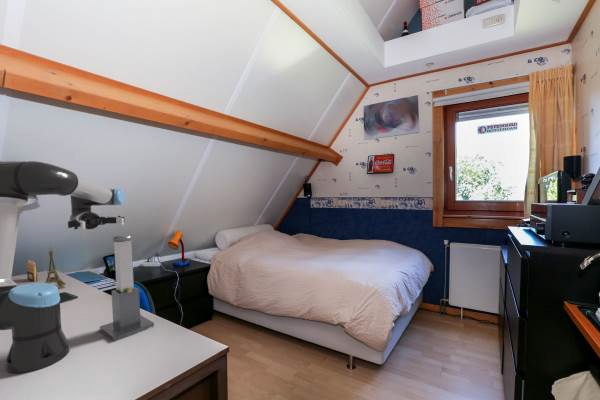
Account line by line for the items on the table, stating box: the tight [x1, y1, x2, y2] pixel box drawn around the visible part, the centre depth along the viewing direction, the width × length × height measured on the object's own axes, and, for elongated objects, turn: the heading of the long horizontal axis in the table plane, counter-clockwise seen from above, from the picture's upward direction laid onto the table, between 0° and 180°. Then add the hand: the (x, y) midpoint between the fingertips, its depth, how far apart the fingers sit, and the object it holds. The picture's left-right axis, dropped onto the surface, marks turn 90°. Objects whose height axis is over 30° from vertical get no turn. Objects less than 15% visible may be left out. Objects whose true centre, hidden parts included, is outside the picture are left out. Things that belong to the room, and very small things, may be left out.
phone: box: [59, 291, 78, 304], centre depth 149 cm, size 8×1×15 cm
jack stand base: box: [99, 286, 155, 342], centre depth 114 cm, size 14×14×16 cm
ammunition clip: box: [26, 259, 38, 283], centre depth 181 cm, size 11×2×12 cm, turn 57°
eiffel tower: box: [44, 243, 67, 290], centre depth 165 cm, size 11×11×25 cm
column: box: [112, 234, 135, 293], centre depth 113 cm, size 6×6×28 cm
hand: (104, 223), depth 120 cm, fingers open, 13 cm apart
